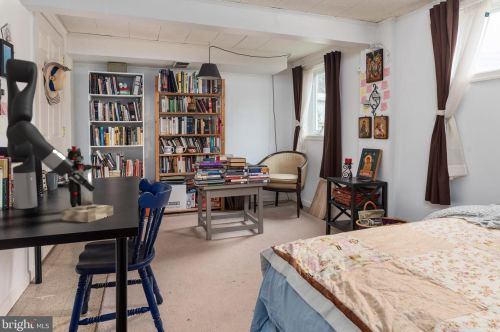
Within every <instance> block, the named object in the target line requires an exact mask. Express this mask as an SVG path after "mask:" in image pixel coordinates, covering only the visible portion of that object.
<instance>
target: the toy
mask: <svg viewBox="0 0 500 332" xmlns="http://www.w3.org/2000/svg"><path fill="white" fill-rule="evenodd" d="M66 151H67V155H66V157H68V158H69V159H70V160H71V161H72V162H74V165H73V167H72V170H74V169H75V170H77V171H78V172H79V173H80V172H86V171H89V170H96V171H101V169H102V166H100V165H92V164H84V162H83V161H84V160H85V158H84V156H83V155H82V153H81V148H80V147H79V148H77V146H75V145H74V146H71V148H68V149H67V150H66ZM46 174H56V173H55V172H54V171H52V170H51V171H47V172H46ZM65 175H67V173H66V174H65ZM67 176H68V175H67ZM67 179H68V183H67V185H68V186H67V187H68V193H69V203H70V208H73V207H78V206H82V203H81V185H80V184H79V183H76V182H74V181H73V180H72V179H70V178H69V177H67Z"/></svg>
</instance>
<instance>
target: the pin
mask: <svg viewBox="0 0 500 332" xmlns="http://www.w3.org/2000/svg"><path fill="white" fill-rule="evenodd" d="M80 174H81V175H82V176H83V177H84V178H85V179H86V180H87V181H88V183H90V184H91V185H92V186H93V173H92V171H89V170H86V171H84V172H80ZM83 182H84V180H82V181H81V183H83ZM93 192H94V190H93V191H92V192H91V191H89V190H88V189H87V188H86V187H84V186H82V185H81V203H82V206H90V205H93V204H94V195H93V194H94V193H93Z"/></svg>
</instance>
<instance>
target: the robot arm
mask: <svg viewBox="0 0 500 332" xmlns="http://www.w3.org/2000/svg"><path fill="white" fill-rule="evenodd" d="M4 68H5V69H4V70H5V80H6V89H7V91H6V92H7V104H6V105H7V106H6V111H7V127H6V132H5V133H6V135H5V136H6V139H7V147H6V151H7V155H8V158H10V159H15V160H16V159H17V160H19V159H21V160H22V159H26V161H25V162H23V163H21V164H18V165H15V166H13V167H12V181H13V182H12V183H13V188H12V197H13V198H12V200H13V208H15V209H17V210H18V209H19V210H21V209H22V210H23V209H32V208H36V207H38V193H37V178H36V177H37V175H36V166H35V165H36V163H35V162H36V161H35V158H37V160H39V161H40V162H42V164H44V165H45V166H46V168H48V169H49V170H51V171H54V172H55V173H54V174H56V175H57V176H58V177H63V176H65V175H68V176H67V178H68V177H69V178H70V179H72V180H73V181H74V182H76V183H79V184H80V185H82V186H84V187H86V188H87V189H88V190H89V191H91V192H92V191H93V192H94V190H95V186H93V184H92V185H91V184H90V183H88V181H87V180H86V179H85V178H84V177H83V176H82V175H81V174H80V173H79V172H78V171H77V170H75V169H74V170H72V167H73V165H74V162H73V160H70V159H69V158H68V157H67V155H65V154H64V153H63V152H62V151H60V150H58V149H57V148H55V147H54V146H53V145H52V144H51V143H49V142H48V141H47V140H46V138H45V137H44V136H43V134H42V133H41V132H40V130H39V129H38V128H37V127H36V126H35V125H34V124H33V123H31V122H32V121H33V116H34V115H33V113H34V112H33V111H34V109H33V108H34V105H33V104H34V100H35V95H36V90H37V83H38V77H39V76H38V75H39V74H38V73H39V72H38V71H39V70H38V65H37V63H36V62H34V61H32V60H25V59H18V58H8V59H6V62H5V67H4ZM17 83H23V84H26V86H25V87H23V89H22V90H21V89H20V88H19V87H18V84H17ZM66 173H67V174H66ZM82 180H84V182H83V183H81V181H82Z"/></svg>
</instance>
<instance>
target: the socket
mask: <svg viewBox="0 0 500 332" xmlns="http://www.w3.org/2000/svg"><path fill="white" fill-rule="evenodd" d="M77 206H78V205H77ZM77 206H76V207H73V208H72V207H69V208H66V209H62V210H61V221H68V222H81V223H92V222H95V221H98V220H101V219H105V218H107V216H108V217H111V216H114V205H107V204H105V205H104V204H94V203H93V205H90V206H78V207H77ZM104 217H105V218H104Z"/></svg>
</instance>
